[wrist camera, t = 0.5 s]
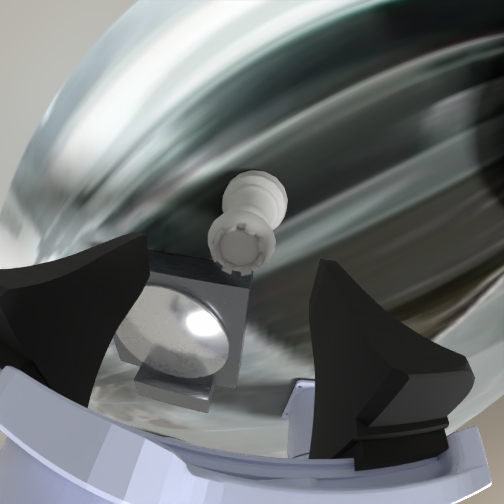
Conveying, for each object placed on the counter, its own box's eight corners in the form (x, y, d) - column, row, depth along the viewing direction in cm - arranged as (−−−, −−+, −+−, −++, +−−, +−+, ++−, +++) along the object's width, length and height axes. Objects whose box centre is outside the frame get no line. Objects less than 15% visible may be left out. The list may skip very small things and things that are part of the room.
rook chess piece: (285, 166, 18) (285, 200, 11) (289, 227, 20) (290, 292, 13) (221, 171, 19) (181, 208, 11) (229, 230, 21) (199, 293, 14)
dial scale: (237, 384, 30) (231, 419, 25) (136, 360, 30) (121, 390, 26) (253, 267, 22) (245, 306, 17) (111, 243, 22) (80, 271, 18)
